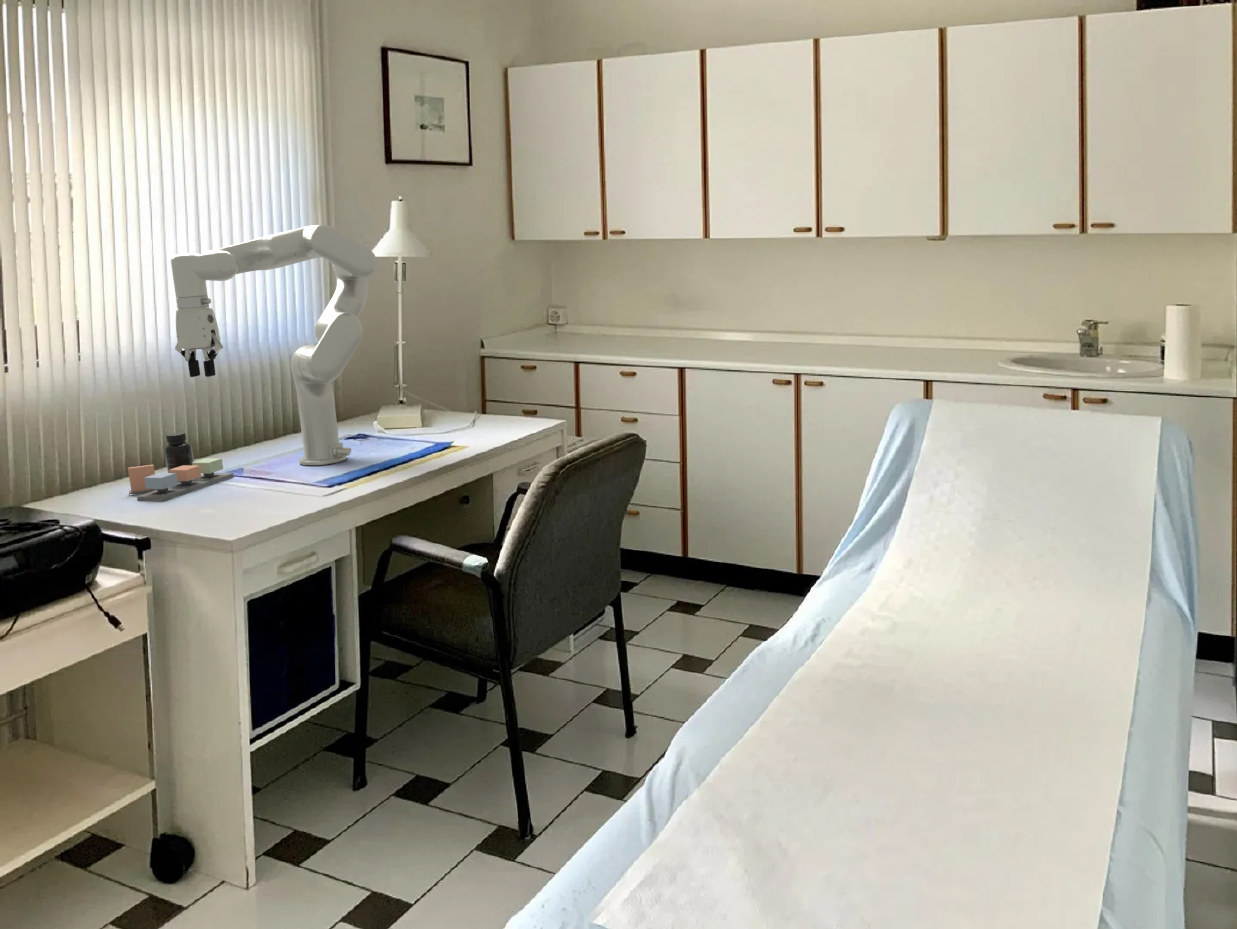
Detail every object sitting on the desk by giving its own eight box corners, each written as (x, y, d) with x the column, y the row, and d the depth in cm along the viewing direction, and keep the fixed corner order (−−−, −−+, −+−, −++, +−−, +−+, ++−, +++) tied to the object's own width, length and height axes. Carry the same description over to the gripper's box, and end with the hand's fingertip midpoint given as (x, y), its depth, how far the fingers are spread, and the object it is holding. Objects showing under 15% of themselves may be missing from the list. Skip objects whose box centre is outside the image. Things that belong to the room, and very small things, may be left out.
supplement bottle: (185, 474, 312) (179, 430, 310) (201, 476, 309) (195, 432, 306) (163, 480, 307) (156, 435, 304) (179, 482, 303) (172, 436, 301)
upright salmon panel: (129, 492, 294) (125, 467, 293) (159, 488, 297) (155, 463, 295) (129, 495, 291) (125, 469, 289) (159, 491, 293) (155, 465, 292)
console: (233, 476, 306) (233, 473, 305) (163, 501, 282) (163, 497, 282) (208, 476, 308) (208, 472, 308) (137, 500, 285) (136, 496, 284)
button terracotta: (201, 480, 296) (199, 465, 295) (187, 485, 291) (185, 470, 291) (185, 479, 298) (183, 465, 297) (170, 484, 293) (168, 469, 292)
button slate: (178, 488, 288) (176, 473, 288) (163, 493, 284) (161, 477, 283) (161, 487, 290) (159, 472, 289) (146, 492, 286) (144, 477, 285)
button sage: (223, 472, 304) (221, 458, 303) (210, 477, 299) (208, 462, 298) (207, 472, 306) (205, 458, 305) (193, 477, 301) (191, 462, 300)
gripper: (229, 301, 294) (239, 373, 297) (176, 303, 300) (186, 374, 303) (210, 303, 287) (220, 378, 291) (155, 306, 293) (166, 378, 296)
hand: (202, 375), depth 297 cm, fingers open, 4 cm apart
